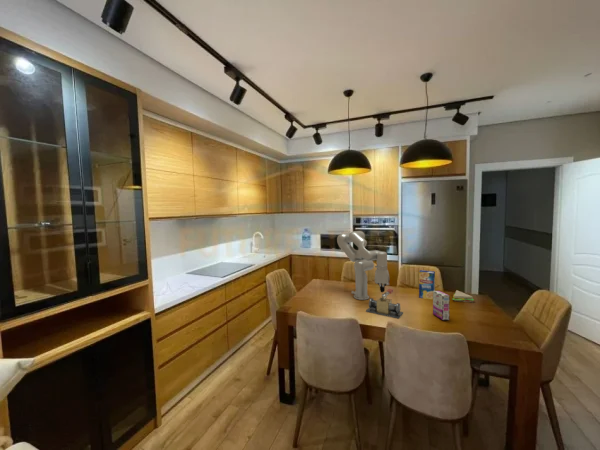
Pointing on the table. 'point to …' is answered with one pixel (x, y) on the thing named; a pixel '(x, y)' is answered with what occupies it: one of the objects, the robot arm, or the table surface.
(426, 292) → the blue cereal box
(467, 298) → the sandwich
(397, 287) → the table surface
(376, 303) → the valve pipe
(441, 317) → the candy bar box
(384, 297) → the valve lever
